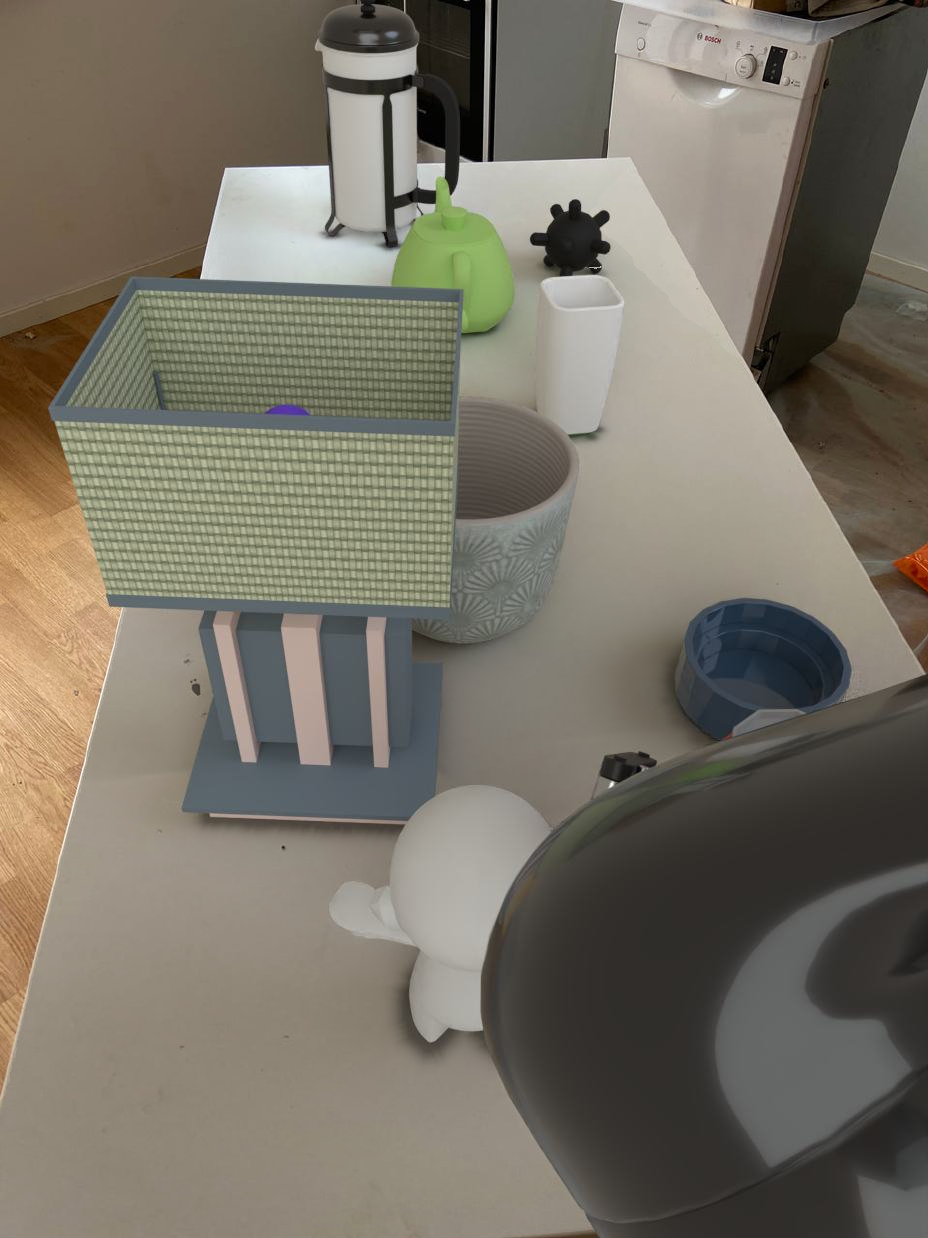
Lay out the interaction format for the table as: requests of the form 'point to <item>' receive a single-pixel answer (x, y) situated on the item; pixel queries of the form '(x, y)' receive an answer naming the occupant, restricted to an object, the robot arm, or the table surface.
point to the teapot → (458, 261)
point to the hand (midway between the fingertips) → (765, 814)
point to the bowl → (757, 663)
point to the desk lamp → (282, 522)
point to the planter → (505, 518)
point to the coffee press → (378, 119)
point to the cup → (576, 349)
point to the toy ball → (573, 239)
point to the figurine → (446, 896)
